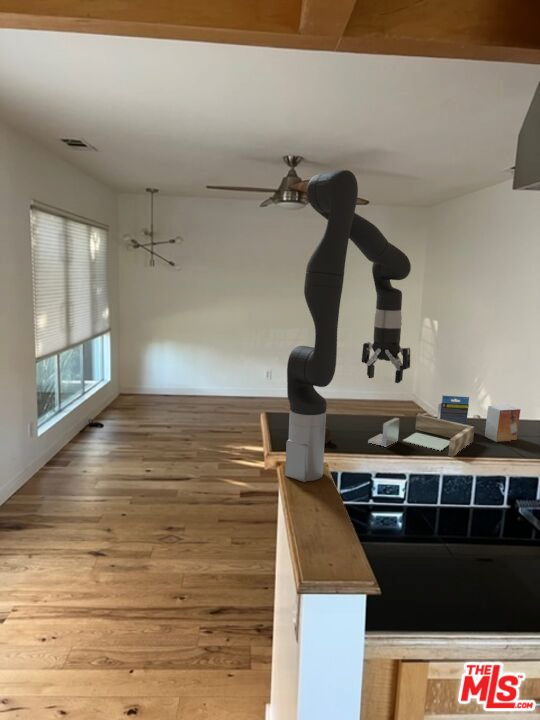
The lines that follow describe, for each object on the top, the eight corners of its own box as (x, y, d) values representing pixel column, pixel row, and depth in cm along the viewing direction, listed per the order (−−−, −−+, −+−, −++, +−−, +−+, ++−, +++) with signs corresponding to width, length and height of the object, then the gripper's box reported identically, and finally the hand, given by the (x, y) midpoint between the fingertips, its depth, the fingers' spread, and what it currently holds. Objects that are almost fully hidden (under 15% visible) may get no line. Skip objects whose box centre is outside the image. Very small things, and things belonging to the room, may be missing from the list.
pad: (440, 451, 150) (440, 450, 150) (402, 441, 157) (402, 440, 157) (452, 442, 157) (452, 441, 157) (416, 433, 165) (416, 432, 165)
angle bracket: (385, 448, 151) (387, 424, 150) (368, 443, 155) (369, 420, 153) (397, 441, 157) (399, 418, 156) (380, 437, 161) (381, 414, 160)
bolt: (318, 433, 169) (324, 448, 154) (305, 425, 168) (310, 440, 153) (327, 418, 168) (334, 432, 153) (314, 411, 167) (320, 424, 152)
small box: (495, 442, 159) (499, 410, 157) (483, 436, 164) (487, 405, 162) (517, 440, 161) (521, 409, 159) (504, 435, 166) (508, 404, 164)
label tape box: (462, 428, 171) (466, 393, 169) (465, 432, 167) (469, 397, 165) (435, 427, 172) (439, 392, 170) (438, 431, 168) (442, 395, 166)
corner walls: (452, 457, 146) (454, 440, 145) (393, 441, 157) (395, 426, 156) (472, 441, 159) (474, 426, 158) (417, 428, 170) (418, 414, 169)
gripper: (359, 324, 146) (356, 378, 150) (405, 329, 138) (401, 386, 141) (371, 321, 152) (368, 374, 155) (416, 326, 143) (412, 381, 147)
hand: (384, 380), depth 148 cm, fingers open, 8 cm apart
